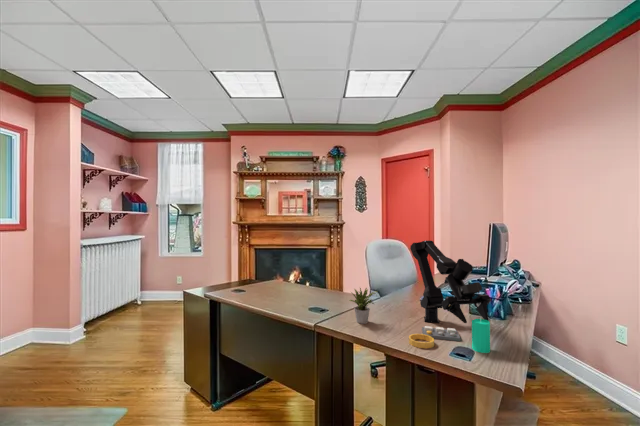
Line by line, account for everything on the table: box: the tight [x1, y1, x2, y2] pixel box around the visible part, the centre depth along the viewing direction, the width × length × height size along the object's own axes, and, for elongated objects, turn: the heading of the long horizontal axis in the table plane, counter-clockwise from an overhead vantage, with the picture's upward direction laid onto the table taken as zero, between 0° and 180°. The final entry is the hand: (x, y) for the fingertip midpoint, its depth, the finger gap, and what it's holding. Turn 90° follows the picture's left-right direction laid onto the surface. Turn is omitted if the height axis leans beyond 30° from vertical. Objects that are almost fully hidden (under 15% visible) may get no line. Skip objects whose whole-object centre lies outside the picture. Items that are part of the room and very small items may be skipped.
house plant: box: [349, 287, 378, 325], centre depth 143 cm, size 14×14×16 cm
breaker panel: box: [421, 325, 461, 342], centre depth 127 cm, size 9×14×2 cm, turn 74°
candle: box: [471, 316, 491, 354], centre depth 113 cm, size 6×6×12 cm
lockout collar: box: [408, 333, 435, 349], centre depth 119 cm, size 9×9×2 cm
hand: (476, 322), depth 116 cm, fingers open, 9 cm apart
